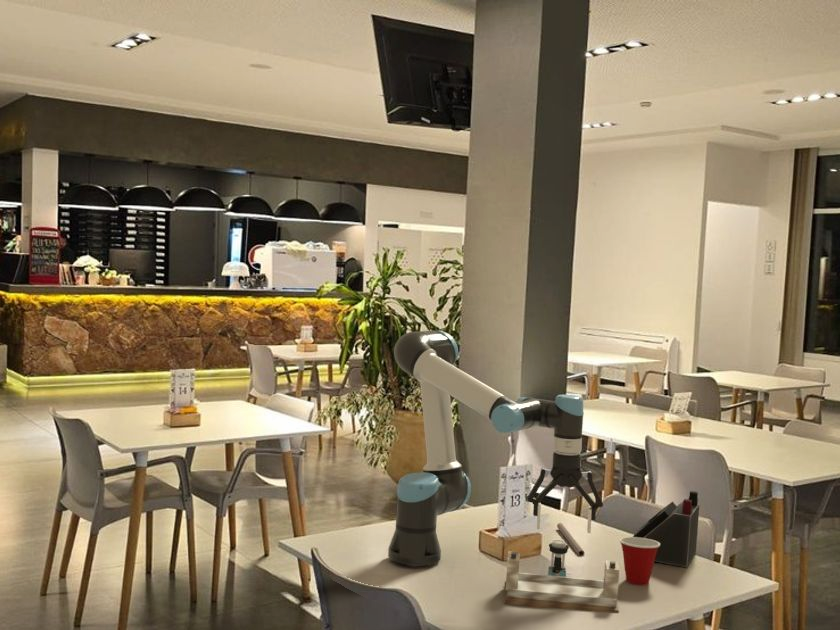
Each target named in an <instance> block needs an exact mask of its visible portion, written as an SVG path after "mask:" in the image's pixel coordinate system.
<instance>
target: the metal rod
mask: <svg viewBox="0 0 840 630" xmlns="http://www.w3.org/2000/svg"><path fill="white" fill-rule="evenodd" d="M556 526H557V527H556V528H557V529H558V530H559V532H560V533H561V534H562V535H563V537H564V538H565V539H566V542H568V544H569V545H570V546H571V547H572V549H573V550H574V551H575V553H576V554H577V556H585V553H586V552H585V551H584V550H583V548H582V547H581V546H580V544H579V543H578V542H577V541H576V540H575V538H574V536H573V535H572V534H571V533H570V532H569V530H567V528H566V527H565V526H564V525H563V523H561V522H559V523H557V525H556Z"/></svg>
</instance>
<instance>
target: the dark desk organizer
mask: <svg viewBox="0 0 840 630" xmlns="http://www.w3.org/2000/svg"><path fill="white" fill-rule="evenodd" d="M698 495H699V492H697V491H693V490H692V491H691V490H690V491H689V496H688V498H687V499H686V498H685V499H683V501H681V502H680V503H679V504H678V505H676V503H675V502H674V501H671V502H669V503H668V504H667V505H666V506H664V507H663V508H662V509H661V510H660V511H658V512H657V513H656V514H655V515H654V516H652V517H651V518H649V520H647V522H645V524H643V525H642V526H640V527H639V529H638V530H637V531H636V532H635V534H633V536H632V537H639V538H646V539H651V540H654V541H657V542H659V543H660V547H659V548H658V550H657V553H656V556H655V560H654V562H658V563H663V564H667V565H674V566H678V567H684V568H688V567H689V565H690V563H691V561H692V560H693V558H694V556H695V554H696V553H697V542H698V530H699V529H698V528H699V518H700V517H699V516H700V503H698V501H699V497H698Z"/></svg>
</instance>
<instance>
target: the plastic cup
mask: <svg viewBox="0 0 840 630" xmlns="http://www.w3.org/2000/svg"><path fill="white" fill-rule="evenodd" d="M619 543H620V545H621V549H622V553H623V565H624V567H623V568H624V571H625V580H626V582H627V583H629V584H631V585H637V586H645V585H646V586H647V585H648V584H649V583H650V579H651V576H652V571H653V569H654V563H655V561H654V560H655V556H656V553H657V550H658V548H659V547H660V543H659V542H657V541H654V540H651V539H646V538H639V537H633V536H627V537H626V536H625V537H621V538H619Z"/></svg>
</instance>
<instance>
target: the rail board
mask: <svg viewBox="0 0 840 630" xmlns="http://www.w3.org/2000/svg"><path fill="white" fill-rule="evenodd" d="M507 553H508V554H507V560H506V576H505V577H506V578H505V594H504V604H505V605H512V606H513V605H514V606H521V607H522V606H523V607H524V606H525V607H532V608H533V607H535V608H549V609H563V610H564V609H565V610H574V611H575V610H577V611H589V612H590V611H593V612H594V611H595V612H606V613H607V612H608V613H619V611H620V609H619V605H618V595H619V594H618V593H619V583H620V582H619V580H620V578H619V577H620V567H619V563H618V561H617V560H607V559H606V560H604V574H603V580H602V579H591V578H590V579H589V578H580V577H572V576H569V577H561V576H550V575H548V574H539V573H538V574H537V573H529V572H528V573H527V572H520V556H521V552H520V551H512V550H511V551H510V550H508V552H507ZM571 577H572V578H571Z"/></svg>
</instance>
